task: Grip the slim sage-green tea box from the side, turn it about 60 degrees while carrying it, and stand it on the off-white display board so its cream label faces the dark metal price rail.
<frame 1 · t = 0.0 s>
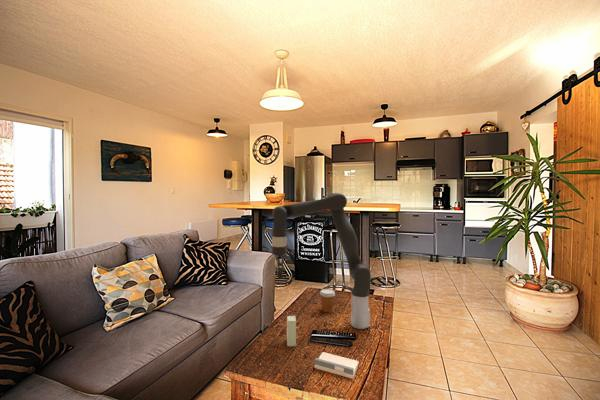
hand: (278, 276, 144), 29 cm above the table, tool pointing down, fingers open, 8 cm apart
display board: (336, 366, 116), on the table
disposable coffee cup: (327, 310, 172), on the table
tea box: (291, 343, 133), on the table
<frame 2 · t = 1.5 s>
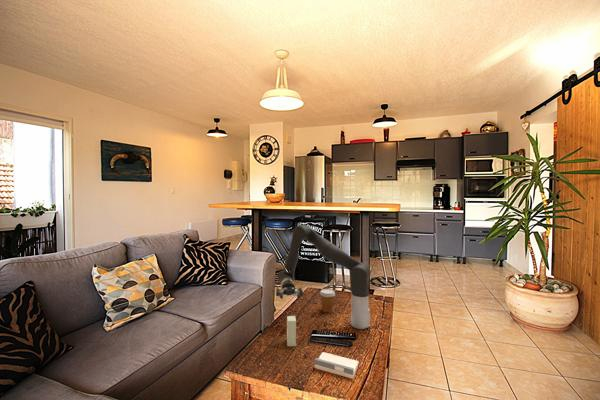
hand: (290, 297, 144), 18 cm above the table, tool horizontal, fingers open, 8 cm apart
nothing on the table moved.
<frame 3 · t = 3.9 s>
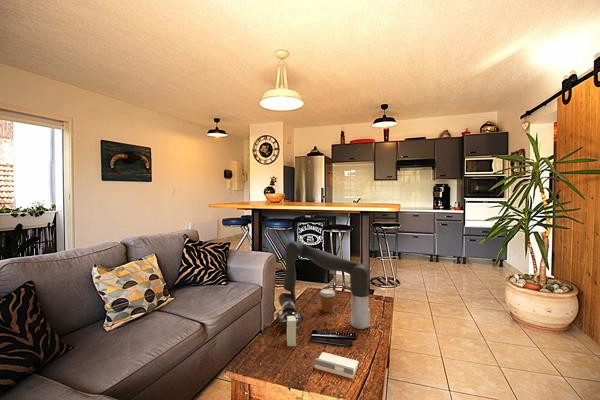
hand: (290, 323, 138), 7 cm above the table, tool horizontal, fingers open, 8 cm apart
nothing on the table moved.
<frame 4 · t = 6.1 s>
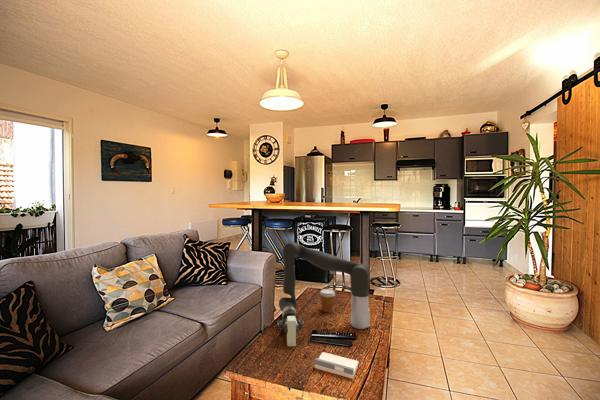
hand: (291, 331, 130), 7 cm above the table, tool horizontal, fingers closed on tea box, 4 cm apart
tea box: (291, 343, 133), on the table, touching gripper
everything else where it was.
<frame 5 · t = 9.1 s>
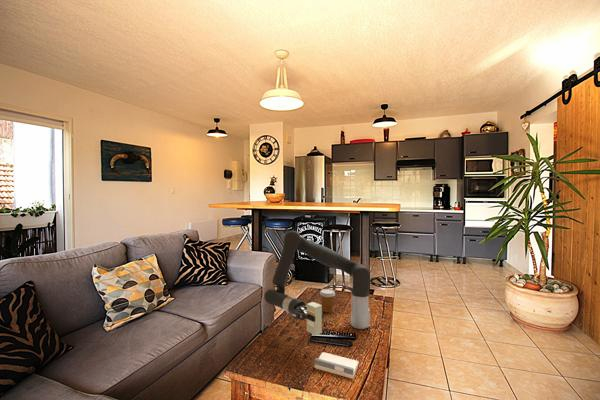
hand: (318, 317, 120), 18 cm above the table, tool horizontal, fingers closed on tea box, 4 cm apart
tea box: (314, 331, 122), point 11 cm above the table, touching gripper
everything else where it was.
when the fingers open (10 cm above the table, at t = 12.1 s): tea box drops 1 cm, resting on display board.
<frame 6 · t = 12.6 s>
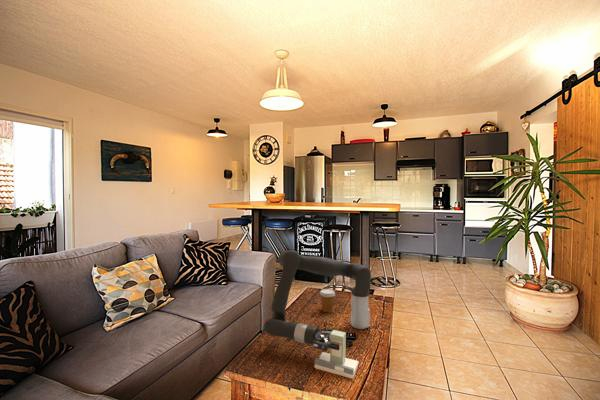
hand: (342, 342, 116), 10 cm above the table, tool horizontal, fingers open, 8 cm apart
tea box: (337, 361, 116), point 1 cm above the table, touching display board
everything else where it was.
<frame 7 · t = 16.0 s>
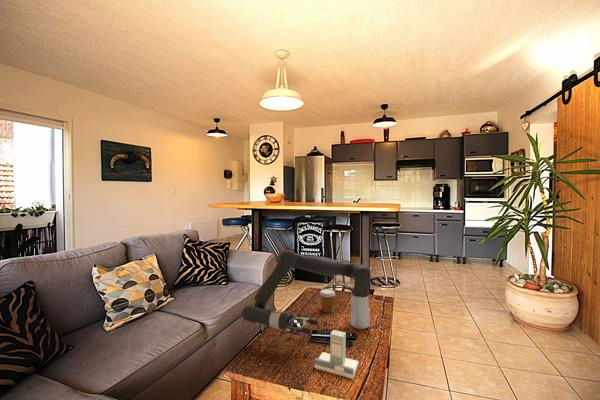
hand: (314, 327, 121), 14 cm above the table, tool horizontal, fingers open, 8 cm apart
nothing on the table moved.
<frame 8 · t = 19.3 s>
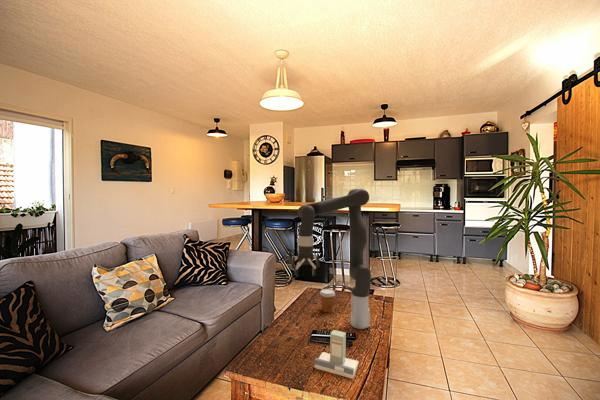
hand: (305, 276, 141), 30 cm above the table, tool pointing down, fingers open, 8 cm apart
nothing on the table moved.
at the end: tea box 0.3 cm off-centre on the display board, point 1.5 cm above the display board's base; tea box tilted 0°; the gripper is holding nothing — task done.
